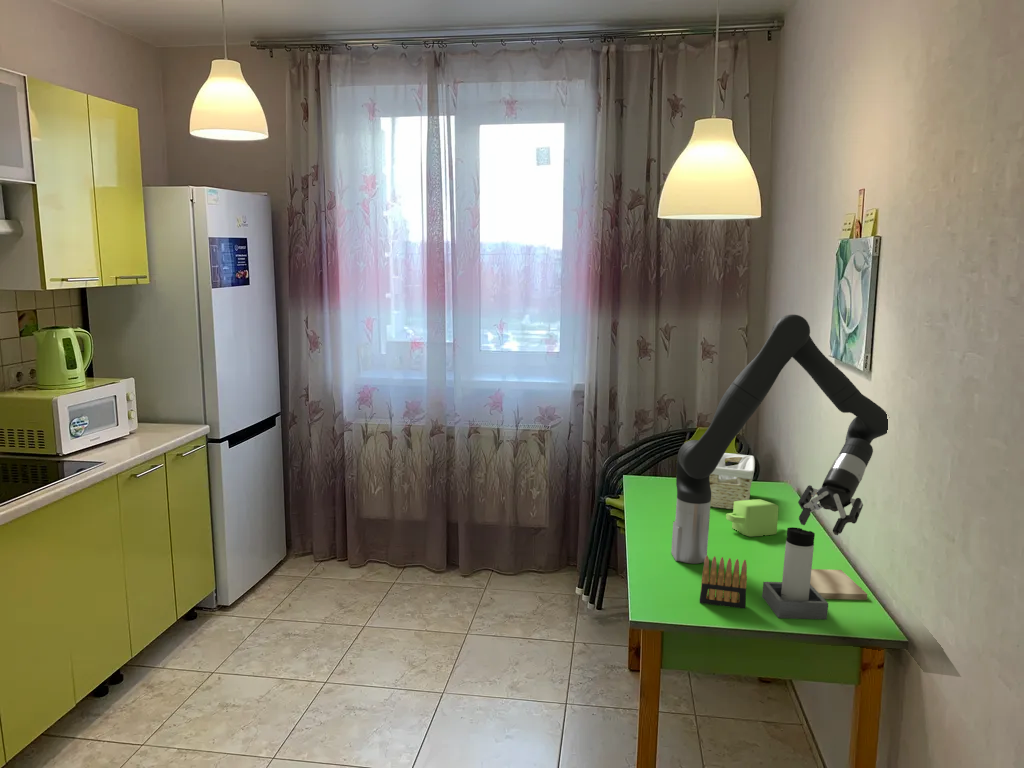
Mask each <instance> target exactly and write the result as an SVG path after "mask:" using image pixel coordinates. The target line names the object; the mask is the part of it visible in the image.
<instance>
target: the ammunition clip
mask: <svg viewBox="0 0 1024 768" xmlns="http://www.w3.org/2000/svg"><path fill="white" fill-rule="evenodd" d="M747 568H748V565H747V559H744V560H743V562H742V565H741V570H740V562H739V559H738V558H736V560H735V562H734V565H732V558H731V557H729V558H728V560H727V563H726V568H725V560H724V556H722V557H721V558H720V560H719V565H718V569H717V558H716V555H714V556H713V558H712V561H711V567H710V559H709V556H708V555H707V556H706V558H705V561H704V562H703V568H702V574H701V584H700V585H701V586H700V595H699V604H705V605H713V606H721V607H728V608H736V609H746V605H747V604H746V601H747V600H746V599H747V597H746V595H747V581H748V575H747V573H748V572H747V571H748V570H747ZM717 570H718V572H717ZM732 570H733V571H732ZM740 571H741V572H740ZM732 572H733V573H732Z"/></svg>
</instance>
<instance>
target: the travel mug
mask: <svg viewBox="0 0 1024 768" xmlns="http://www.w3.org/2000/svg"><path fill="white" fill-rule="evenodd" d="M815 534H816V533H815V532H814V531H811V530H806V529H803V528H800V527H792V526H791V527H787V529H786V539H785V547H784V549H785V550H784V559H783V560H784V561H783V570H782V580H781V582H782V590H781V599H782V600H790V601H809V590H810V580H811V570H812V569H813V560H814V559H813V558H814V550H815V548H814V546H815Z"/></svg>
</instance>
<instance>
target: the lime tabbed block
mask: <svg viewBox="0 0 1024 768" xmlns="http://www.w3.org/2000/svg"><path fill="white" fill-rule="evenodd" d="M725 516H726V517H725V519H726V520H727V521H730V522H732V523H731V524H732V525H731V527H732V529H733V530H734V529H735V530H734V531H736V530H737V531H736V532H738V531H739V532H738V533H740V534H741V535H744V536H747V537H763V535H765V536H769V535H770V536H772V535H777V532H778V523H779V521H778V520H779V505H777V504H776V503H773V502H770V501H767V500H764V499H749V500H742V501H734V506H733V509H732V512H727V513H726V514H725Z"/></svg>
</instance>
